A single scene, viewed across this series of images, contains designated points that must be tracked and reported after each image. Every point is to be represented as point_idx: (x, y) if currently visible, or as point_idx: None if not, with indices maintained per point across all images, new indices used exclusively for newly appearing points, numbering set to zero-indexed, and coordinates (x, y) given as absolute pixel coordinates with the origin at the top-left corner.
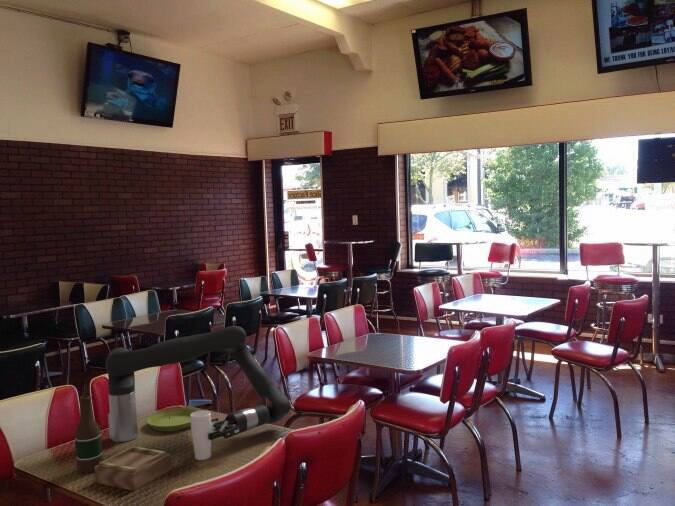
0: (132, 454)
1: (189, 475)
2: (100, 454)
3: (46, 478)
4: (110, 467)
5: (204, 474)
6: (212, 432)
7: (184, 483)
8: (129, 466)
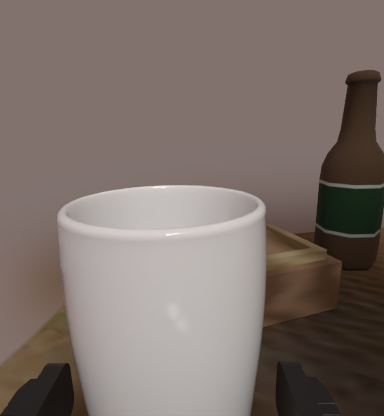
0: (276, 251)
1: (74, 360)
2: (338, 234)
3: None
4: None
5: (9, 398)
6: (44, 390)
7: (49, 329)
8: None
